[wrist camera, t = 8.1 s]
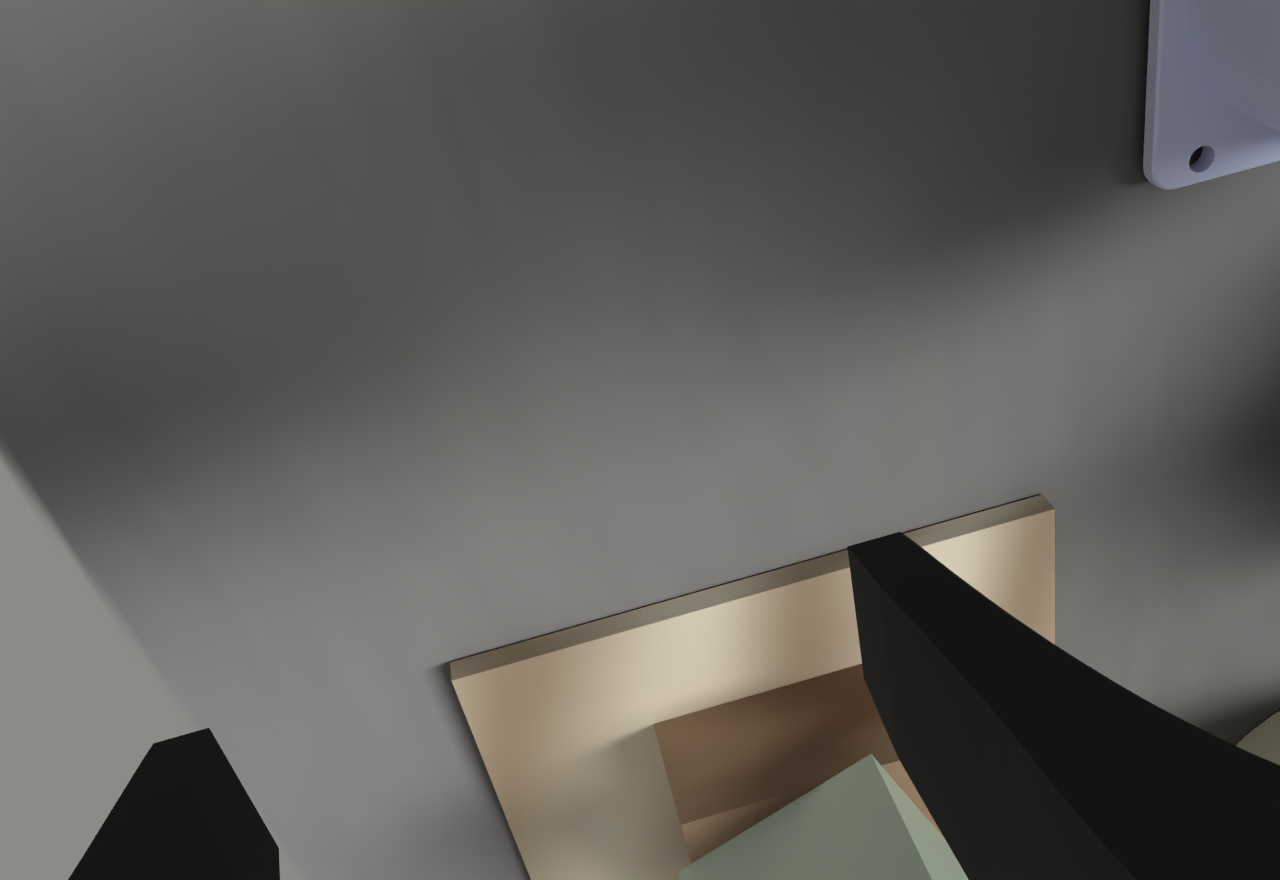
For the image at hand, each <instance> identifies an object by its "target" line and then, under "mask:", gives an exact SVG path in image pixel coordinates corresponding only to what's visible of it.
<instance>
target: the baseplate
mask: <svg viewBox="0 0 1280 880" xmlns="http://www.w3.org/2000/svg"><path fill="white" fill-rule="evenodd" d="M904 535H906V536H907V537H909V538H910V539H912V540H913V541H914V542H915V543H917V544H918V545H919V546H920V547H922V548H923V549H924V550H926V551H927V552H928V553H929V554H931V555H932V556H933V557H934V558H936V559H937V560H938V561H939V562H941V563H942V564H943V565H945V566H946V567H947V568H948V569H950V570H951V571H952V572H954V573H955V574H956V575H958V576H959V577H960V578H961V579H963V580H964V581H965V582H967V583H968V584H970V585H971V586H972V587H974V588H975V589H976V590H978V591H979V592H980V593H982V594H983V595H984V596H986V597H987V598H988V599H990V600H991V601H992V602H994V603H995V604H997V605H998V606H999V607H1001V608H1002V609H1004V610H1005V611H1006V612H1008V613H1009V614H1011V615H1012V616H1014V617H1015V618H1016V619H1018V620H1019V621H1021V622H1022V623H1024V624H1025V625H1027V626H1028V627H1030V628H1031V629H1033V630H1034V631H1035V632H1037V633H1038V634H1040V635H1041V636H1043V637H1044V638H1046V639H1047V640H1049V641H1050V642H1052V643H1053V644H1054V645H1055V509H1054V508H1053V506H1052V505H1051V504H1050V503H1049V502H1048V501H1047V500H1046V498H1045V497H1044V496H1043V495H1038V496H1035V497H1031V498H1027V499H1024V500H1020V501H1017V502H1013V503H1010V504H1006V505H1003V506H999V507H996V508H992V509H989V510H985V511H982V512H978V513H975V514H971V515H968V516H964V517H961V518H957V519H953V520H950V521H946V522H943V523H939V524H936V525H932V526H929V527H925V528H922V529H918V530H915V531H911V532H908V533H904ZM450 669H451V681H452V684H453V686H454V689H455V691H456V694H457V696H458V699H459V701H460V704H461V706H462V709H463V711H464V714H465V716H466V719H467V721H468V724H469V726H470V729H471V731H472V734H473V736H474V739H475V741H476V744H477V746H478V749H479V751H480V754H481V756H482V759H483V761H484V764H485V766H486V769H487V771H488V774H489V776H490V779H491V781H492V784H493V786H494V789H495V791H496V794H497V796H498V799H499V801H500V804H501V806H502V809H503V811H504V814H505V816H506V819H507V821H508V824H509V826H510V829H511V831H512V834H513V836H514V839H515V841H516V844H517V846H518V849H519V851H520V854H521V856H522V859H523V861H524V864H525V866H526V869H527V871H528V874H529V876H530V879H531V880H680V876H679V871H680V870H682V869H684V868H685V867H687V866H688V865H690V864H692V863H693V862H695V861H697V860H698V859H700V858H702V857H703V856H705V855H706V854H708V853H710V852H711V851H713V850H715V849H716V848H718V847H720V846H721V845H723V844H724V843H726V842H728V841H729V840H731V839H733V838H734V837H736V836H738V835H739V834H741V833H742V832H744V831H746V830H747V829H749V828H751V827H752V826H754V825H756V824H757V823H759V822H760V821H762V820H764V819H765V818H767V817H769V816H770V815H772V814H773V813H775V812H777V811H778V810H780V809H782V808H783V807H785V806H787V805H788V804H790V803H791V802H793V801H795V800H796V799H798V798H800V797H801V796H803V795H805V794H806V793H808V792H809V791H811V790H813V789H814V788H816V787H818V786H819V785H821V784H823V783H824V782H826V781H827V780H829V779H831V778H832V777H834V776H836V775H837V774H839V773H840V772H842V771H844V770H845V769H847V768H849V767H850V766H852V765H854V764H855V763H857V762H858V761H860V760H862V759H863V758H865V757H867V756H868V755H870V754H872V756H873V757H874V758H875V759H876V760H877V761H878V762H879V764H880V765H881V766H882V767H883V768H884V769H885V771H886V772H887V773H888V774H889V775H890V776H891V777H892V779H893V780H894V781H895V782H896V783H897V784H898V786H899V787H900V788H901V789H902V790H903V791H904V792H905V794H906V795H907V796H908V797H909V798H910V799H911V801H912V802H913V803H914V804H915V805H916V806H917V807H918V809H919V810H920V811H921V812H922V813H923V814H924V816H925V817H926V818H927V819H928V820H929V821H930V822H931V824H932V825H933V826H934V827H935V828H936V829H937V831H938V832H939V833H940V834H941V835H942V833H941V831H940V830H939V828H938V826H937V824H936V823H935V821H934V819H933V818H932V816H931V814H930V812H929V811H928V809H927V807H926V805H925V804H924V802H923V800H922V798H921V797H920V795H919V793H918V792H917V790H916V788H915V786H914V785H913V783H912V781H911V779H910V778H909V776H908V774H907V772H906V771H905V769H904V767H903V765H902V763H901V762H900V760H899V758H898V756H897V754H896V752H895V749H894V747H893V745H892V743H891V740H890V738H889V736H888V734H887V731H886V729H885V727H884V725H883V722H882V720H881V718H880V715H879V713H878V710H877V708H876V706H875V703H874V701H873V699H872V696H871V694H870V692H869V689H868V687H867V684H866V682H865V680H864V675H863V668H862V660H861V652H860V644H859V636H858V628H857V620H856V612H855V604H854V596H853V588H852V581H851V573H850V565H849V557H848V550H844V551H841V552H837V553H834V554H830V555H827V556H823V557H820V558H816V559H813V560H809V561H805V562H802V563H798V564H795V565H791V566H788V567H784V568H781V569H777V570H774V571H770V572H767V573H763V574H760V575H756V576H753V577H749V578H746V579H742V580H739V581H735V582H731V583H728V584H724V585H721V586H717V587H714V588H710V589H707V590H703V591H700V592H696V593H693V594H689V595H686V596H682V597H679V598H675V599H672V600H668V601H665V602H661V603H657V604H654V605H650V606H647V607H643V608H640V609H636V610H633V611H629V612H626V613H622V614H619V615H615V616H612V617H608V618H605V619H601V620H598V621H594V622H591V623H587V624H583V625H580V626H576V627H573V628H569V629H566V630H562V631H559V632H555V633H552V634H548V635H545V636H541V637H538V638H534V639H531V640H527V641H524V642H520V643H517V644H513V645H509V646H506V647H502V648H499V649H495V650H492V651H488V652H485V653H481V654H478V655H474V656H471V657H467V658H464V659H460V660H457V661H453V662H450ZM942 836H943V835H942ZM943 837H944V836H943ZM944 839H945V838H944Z"/></svg>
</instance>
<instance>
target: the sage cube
mask: <svg viewBox="0 0 1280 880" xmlns="http://www.w3.org/2000/svg"><path fill="white" fill-rule="evenodd" d="M679 876H680V880H969V879H968V878H967V876H966V874H965V873H964V871H963V869H962V867H961V866H960V864H959V862H958V861H957V859H956V857H955V855H954V854H953V852H952V850H951V848H950V847H949V845H948V843H947V842H946V840H945V839H944V837H943V836H942V835H941V834H940V833H939V832H938V831H937V829H936V828H935V827H934V826H933V825H932V824H931V822H930V821H929V820H928V819H927V818H926V817H925V816H924V814H923V813H922V812H921V811H920V810H919V809H918V807H917V806H916V805H915V804H914V803H913V802H912V801H911V799H910V798H909V797H908V796H907V795H906V794H905V792H904V791H903V790H902V789H901V788H900V787H899V786H898V784H897V783H896V782H895V781H894V780H893V779H892V777H891V776H890V775H889V774H888V773H887V772H886V771H885V769H884V768H883V767H882V766H881V765H880V764H879V762H878V761H877V760H876V759H875V758H874V757H873V756H872V754H870V755H868V756H867V757H865V758H863V759H862V760H860V761H858V762H857V763H855V764H854V765H852V766H850V767H849V768H847V769H845V770H844V771H842V772H840V773H839V774H837V775H836V776H834V777H832V778H831V779H829V780H827V781H826V782H824V783H823V784H821V785H819V786H818V787H816V788H814V789H813V790H811V791H809V792H808V793H806V794H805V795H803V796H801V797H800V798H798V799H796V800H795V801H793V802H791V803H790V804H788V805H787V806H785V807H783V808H782V809H780V810H778V811H777V812H775V813H773V814H772V815H770V816H769V817H767V818H765V819H764V820H762V821H760V822H759V823H757V824H756V825H754V826H752V827H751V828H749V829H747V830H746V831H744V832H742V833H741V834H739V835H738V836H736V837H734V838H733V839H731V840H729V841H728V842H726V843H724V844H723V845H721V846H720V847H718V848H716V849H715V850H713V851H711V852H710V853H708V854H706V855H705V856H703V857H702V858H700V859H698V860H697V861H695V862H693V863H692V864H690V865H688V866H687V867H685V868H684V869H682V870H680V871H679Z"/></svg>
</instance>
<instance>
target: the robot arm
mask: <svg viewBox="0 0 1280 880" xmlns="http://www.w3.org/2000/svg"><path fill="white" fill-rule="evenodd" d="M1201 146H1202V148H1203V150H1202V153H1201V157H1200V158H1199V159H1198V160H1197V161H1196V163H1194V164H1192V165H1189V161H1190V158H1191V155H1192V154H1193V153H1194V151H1195V150H1196V149H1198V148H1200V147H1201ZM1278 161H1280V0H1150V19H1149V42H1148V65H1147V88H1146V111H1145V133H1144V156H1143V169H1144V175H1145V177H1146V178H1147V179H1148V181H1149V182H1150V183H1152V184H1154V185H1156V186H1158V187H1160V188H1162V189H1165V190H1171V189H1178V188H1181V187H1185V186H1189V185H1192V184H1196V183H1200V182H1203V181H1207V180H1211V179H1215V178H1218V177H1222V176H1226V175H1229V174H1233V173H1237V172H1241V171H1244V170H1248V169H1252V168H1255V167H1259V166H1263V165H1266V164H1270V163H1274V162H1278ZM847 549H848V557H849V565H850V573H851V581H852V588H853V596H854V604H855V612H856V620H857V628H858V636H859V644H860V652H861V660H862V668H863V675H864V680H865V682H866V684H867V687H868V689H869V692H870V694H871V696H872V699H873V701H874V703H875V706H876V708H877V710H878V713H879V715H880V718H881V720H882V722H883V725H884V727H885V729H886V731H887V734H888V736H889V738H890V740H891V743H892V745H893V747H894V749H895V752H896V754H897V756H898V758H899V760H900V762H901V763H902V765H903V767H904V769H905V771H906V772H907V774H908V776H909V778H910V779H911V781H912V783H913V785H914V786H915V788H916V790H917V792H918V793H919V795H920V797H921V798H922V800H923V802H924V804H925V805H926V807H927V809H928V811H929V812H930V814H931V816H932V818H933V819H934V821H935V823H936V824H937V826H938V828H939V830H940V831H941V833H942V835H943V836H944V838H945V840H946V842H947V843H948V845H949V847H950V848H951V850H952V852H953V854H954V855H955V857H956V859H957V861H958V862H959V864H960V866H961V867H962V869H963V871H964V873H965V874H966V876H967V878H968V879H969V880H1280V765H1278V764H1276V763H1273V762H1271V761H1269V760H1266V759H1264V758H1261V757H1259V756H1257V755H1254V754H1252V753H1250V752H1247V751H1245V750H1243V749H1241V748H1239V747H1237V746H1235V745H1232V744H1230V743H1228V742H1226V741H1224V740H1222V739H1220V738H1217V737H1215V736H1213V735H1211V734H1209V733H1207V732H1205V731H1203V730H1201V729H1199V728H1197V727H1196V726H1194V725H1192V724H1190V723H1188V722H1186V721H1184V720H1182V719H1180V718H1178V717H1176V716H1174V715H1172V714H1170V713H1168V712H1167V711H1165V710H1163V709H1161V708H1159V707H1157V706H1156V705H1154V704H1152V703H1150V702H1148V701H1147V700H1145V699H1143V698H1141V697H1139V696H1138V695H1136V694H1134V693H1132V692H1131V691H1129V690H1127V689H1126V688H1124V687H1122V686H1120V685H1119V684H1117V683H1115V682H1114V681H1112V680H1110V679H1109V678H1107V677H1106V676H1104V675H1102V674H1101V673H1099V672H1097V671H1096V670H1094V669H1092V668H1091V667H1089V666H1087V665H1086V664H1084V663H1082V662H1081V661H1079V660H1078V659H1076V658H1075V657H1073V656H1072V655H1070V654H1068V653H1067V652H1065V651H1064V650H1062V649H1061V648H1059V647H1058V646H1056V645H1054V644H1053V643H1052V642H1050V641H1049V640H1047V639H1046V638H1044V637H1043V636H1041V635H1040V634H1038V633H1037V632H1035V631H1034V630H1033V629H1031V628H1030V627H1028V626H1027V625H1025V624H1024V623H1022V622H1021V621H1019V620H1018V619H1016V618H1015V617H1014V616H1012V615H1011V614H1009V613H1008V612H1006V611H1005V610H1004V609H1002V608H1001V607H999V606H998V605H997V604H995V603H994V602H992V601H991V600H990V599H988V598H987V597H986V596H984V595H983V594H982V593H980V592H979V591H978V590H976V589H975V588H974V587H972V586H971V585H970V584H968V583H967V582H965V581H964V580H963V579H961V578H960V577H959V576H958V575H956V574H955V573H954V572H952V571H951V570H950V569H948V568H947V567H946V566H945V565H943V564H942V563H941V562H939V561H938V560H937V559H936V558H934V557H933V556H932V555H931V554H929V553H928V552H927V551H926V550H924V549H923V548H922V547H920V546H919V545H918V544H917V543H915V542H914V541H913V540H912V539H910V538H909V537H907V536H906V535H904V534H902V533H900V532H898V533H894V534H891V535H887V536H884V537H880V538H877V539H873V540H870V541H866V542H862V543H859V544H855V545H852V546H848V547H847ZM279 873H280V872H279V848H278V846H277V844H276V843H275V841H274V839H273V837H272V836H271V834H270V832H269V831H268V829H267V827H266V825H265V824H264V822H263V820H262V818H261V817H260V815H259V813H258V812H257V810H256V808H255V806H254V805H253V803H252V801H251V799H250V798H249V796H248V794H247V793H246V791H245V789H244V787H243V786H242V784H241V782H240V780H239V779H238V777H237V775H236V774H235V772H234V770H233V768H232V767H231V765H230V763H229V761H228V760H227V758H226V756H225V755H224V753H223V751H222V749H221V748H220V746H219V744H218V742H217V741H216V739H215V737H214V736H213V734H212V732H211V730H210V729H209V728H207V729H203V730H200V731H196V732H193V733H189V734H186V735H182V736H179V737H175V738H172V739H168V740H164V741H161V742H157V743H154V744H153V745H152V747H151V748H150V750H149V751H148V753H147V755H146V756H145V757H144V759H143V760H142V762H141V764H140V766H139V767H138V769H137V770H136V772H135V773H134V775H133V776H132V778H131V780H130V781H129V783H128V785H127V786H126V788H125V789H124V791H123V793H122V794H121V796H120V798H119V799H118V801H117V802H116V804H115V806H114V807H113V809H112V810H111V812H110V814H109V815H108V817H107V819H106V820H105V822H104V824H103V825H102V827H101V829H100V830H99V832H98V833H97V835H96V836H95V838H94V840H93V841H92V843H91V845H90V846H89V848H88V849H87V851H86V852H85V854H84V856H83V857H82V859H81V861H80V862H79V864H78V865H77V867H76V868H75V870H74V872H73V873H72V875H71V876H70V878H69V879H68V880H280V874H279Z"/></svg>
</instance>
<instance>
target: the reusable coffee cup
mask: <svg viewBox="0 0 1280 880" xmlns="http://www.w3.org/2000/svg"><path fill="white" fill-rule="evenodd" d="M1236 746H1237V747H1239V748H1241V749H1243V750H1245V751H1247V752H1250V753H1252V754H1254V755H1257V756H1259V757H1261V758H1264V759H1266V760H1269V761H1271V762H1273V763H1276V764H1278V765H1280V711H1278V712H1277V713H1275V714H1273V715H1272V716H1271V717H1269V718H1268V719H1267V720H1265V721H1264V722H1263V723H1261V724H1260V725H1259V726H1257V727H1256V728H1255V729H1253V730H1252V731H1251V732H1250V733H1248V734H1247V735H1246V736H1245V737H1244V738H1243V739H1242V740H1241V741H1240V742H1239V743H1238V744H1237V745H1236Z"/></svg>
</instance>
